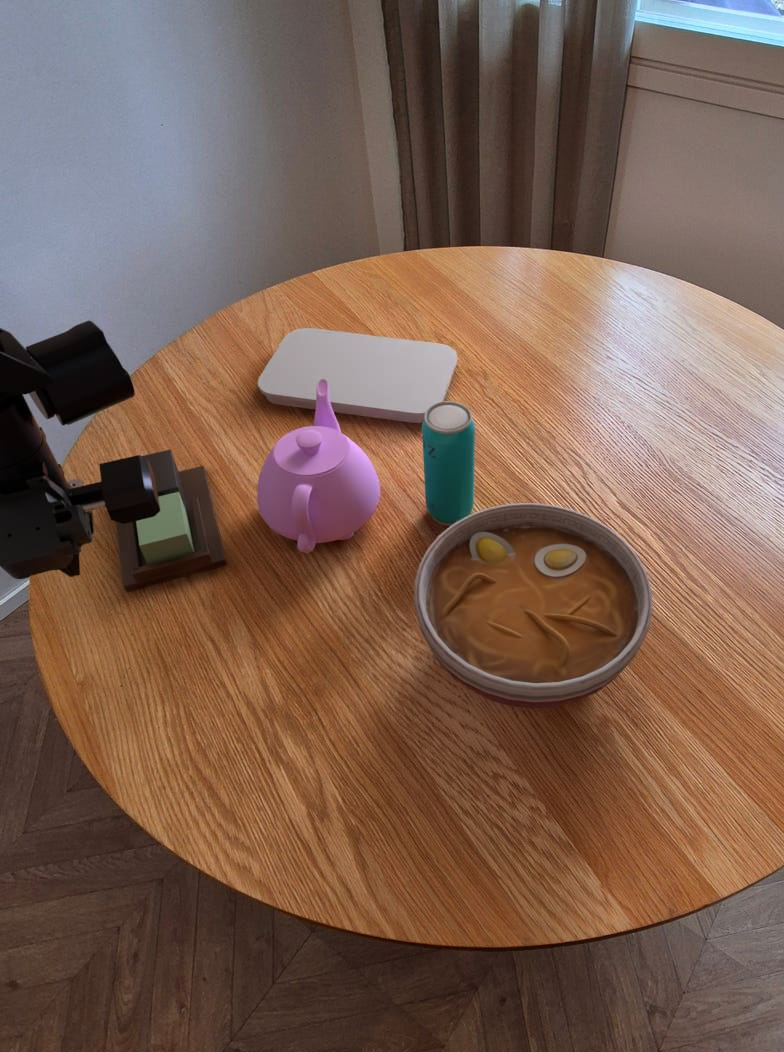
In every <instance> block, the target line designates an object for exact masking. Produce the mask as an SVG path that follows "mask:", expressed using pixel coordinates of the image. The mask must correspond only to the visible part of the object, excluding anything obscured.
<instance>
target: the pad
mask: <svg viewBox="0 0 784 1052" xmlns="http://www.w3.org/2000/svg"><path fill="white" fill-rule="evenodd" d="M158 499H159V505H160V512H159V513H158V514H157V515H156V516H155V517H151V518H147V519H142V520H138V521H136V525H137V532H138V540H139V546H140V548H141V551H142V553H143V555H144V557H145V559H146V561H147V563H148V565H150V564H154V563H158V562H161V561H165V560H169V559H173V558H177V557H181V556H184V555H188V554H192V553H195V550H194V545H193V539H192V534H191V529H190V524H189V519H188V515H187V512H186V509H185V507H184V504H183V501H182V499H181V496H180V494H179V492H176V493H172V494H167V495H163V496H159V497H158Z"/></svg>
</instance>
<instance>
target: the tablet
mask: <svg viewBox="0 0 784 1052" xmlns="http://www.w3.org/2000/svg"><path fill="white" fill-rule="evenodd" d="M458 361H459V359H458V353H457V350H455V349H454V348H453V347H451V346H450V345H447V344H444V343H438V342H429V341H421V340H414V339H406V338H405V339H403V338H398V337H388V336H380V335H371V334H364V333H356V332H348V331H341V330H340V331H339V330H338V331H337V330H331V329H322V328H317V327H316V328H315V327H302V328H296V329H295V330H292V331H289V333H286V335H285V336H284V337H283V339H282V340H281V341H280V343H279V345H278V346H277V349H276V350H275V351H274V353H273V355H272V356H271V358H270V359H269V361H268V363H267V364H266V366H265V368H264V369H263V370H262V372H261V374H260V375H259V377H258V378H257V386H258V389H259V391H260V393H261V394H262V395H264V396H265V397H266V400H267V401H269V403H272V404H275V405H279V406H288V407H294V408H301V409H309V410H316V389H317V385H318V382H319V381H320V380H321V379H325V380H326V381H327V383H328V387H329V398H330V403H331V407H332V409H333V412H334V413H337V414H338V413H339V414H345V415H346V414H347V415H355V416H361V417H368V418H375V419H382V420H391V421H398V422H405V423H412V424H423V422H424V415H425V412H426V410H427V409H428V408H429V407H430V406H432V405H434V404H436V403H439V402H445V398H446V395H447V393H448V390H449V387H450V385H451V382H452V379H453V376H454V374H455V370H456V367H457V364H458Z"/></svg>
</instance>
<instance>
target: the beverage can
mask: <svg viewBox="0 0 784 1052" xmlns="http://www.w3.org/2000/svg"><path fill="white" fill-rule="evenodd" d="M475 427H476V425H475V422H474V420H473V414H472V411H471V410H470V408H469V407H467V406H466V405H465V404H464V403H461V402H457V401H450V400H447V401H445V400H444V401H443V402H439V403H436V404H434V405H432V406H430V407H429V408H428V409H427V410H426V412H425V415H424V422H423V423H421V437H422V452H423V453H422V456H423V476H424V495H425V496H424V497H425V506H426V509H427V511H428V514H429V515H430V517H431V518H432V519H433V521H435V522H436V523H438V524H439V525H442V526H447V527H450V526H451V525H453V524H454V523H456V522H458V521H460V520H461V519H463V518H465V517H467V516H469V515H470V514H471V512H472V510H473V509H474V506H475V505H474V504H475V449H476V448H475V445H476V444H475V437H476V435H475V434H476V430H475V429H476V428H475Z"/></svg>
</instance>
